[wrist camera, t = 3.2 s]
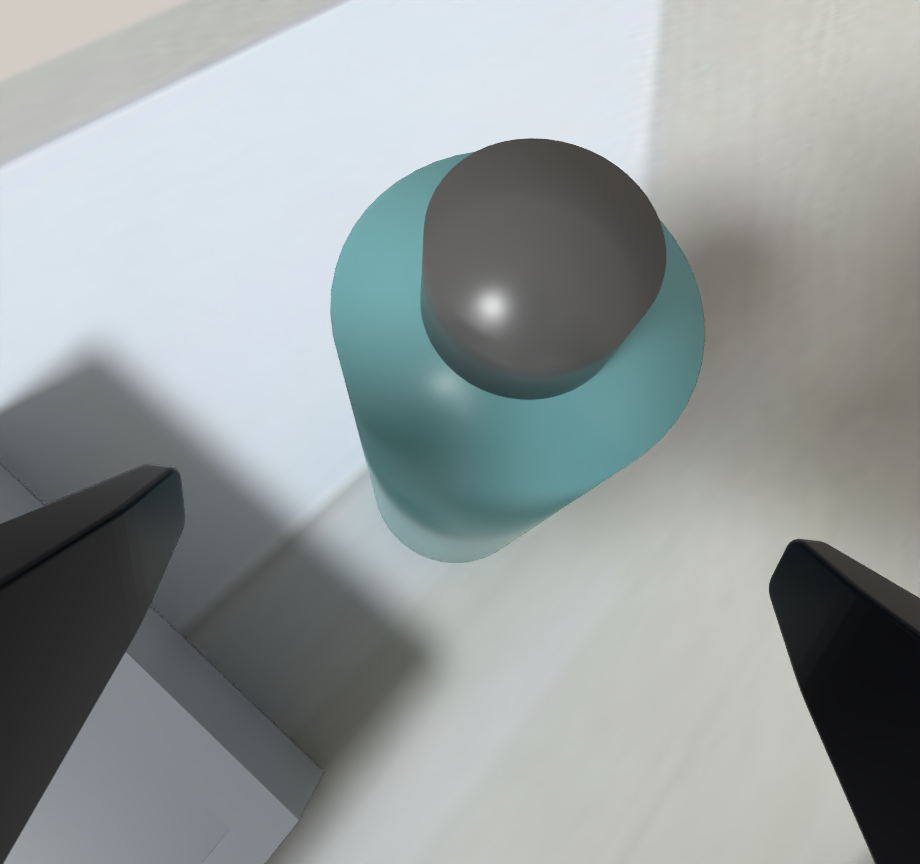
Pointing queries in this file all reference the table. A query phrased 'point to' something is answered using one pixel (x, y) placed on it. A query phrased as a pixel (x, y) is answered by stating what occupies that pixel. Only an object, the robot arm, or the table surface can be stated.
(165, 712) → the tray
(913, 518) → the table surface
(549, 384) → the capped bottle
